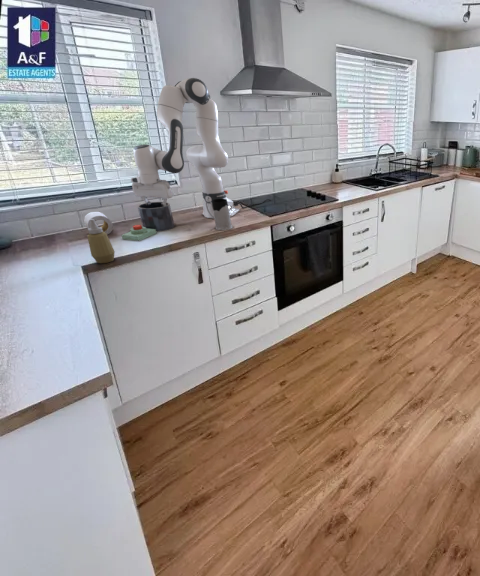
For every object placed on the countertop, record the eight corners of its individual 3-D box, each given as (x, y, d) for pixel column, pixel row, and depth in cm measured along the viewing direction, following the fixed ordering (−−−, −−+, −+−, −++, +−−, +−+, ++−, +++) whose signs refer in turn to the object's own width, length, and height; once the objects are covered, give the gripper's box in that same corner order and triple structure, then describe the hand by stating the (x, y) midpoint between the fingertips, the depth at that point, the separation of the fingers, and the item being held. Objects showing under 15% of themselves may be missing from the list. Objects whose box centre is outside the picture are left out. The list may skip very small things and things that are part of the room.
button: (137, 227, 185) (136, 224, 184) (144, 228, 184) (143, 225, 183) (132, 230, 182) (131, 226, 181) (138, 230, 181) (137, 227, 180)
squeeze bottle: (92, 266, 151) (77, 223, 143) (95, 259, 157) (81, 218, 149) (116, 263, 154) (102, 221, 146) (118, 256, 161) (105, 216, 153)
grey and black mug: (224, 231, 196) (219, 203, 189) (204, 227, 200) (198, 199, 194) (236, 226, 203) (231, 199, 196) (216, 223, 208) (211, 196, 201)
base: (141, 231, 190) (138, 224, 189) (156, 233, 189) (154, 225, 187) (122, 239, 180) (120, 231, 178) (138, 240, 179) (136, 232, 177)
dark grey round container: (156, 222, 205) (151, 200, 200) (180, 224, 203) (175, 202, 198) (136, 230, 192) (130, 207, 187) (162, 232, 190) (156, 209, 185)
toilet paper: (115, 233, 187) (109, 214, 182) (91, 237, 180) (84, 217, 176) (111, 228, 193) (105, 210, 188) (87, 232, 186) (80, 213, 182)
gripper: (172, 179, 189) (178, 205, 196) (136, 176, 192) (143, 202, 198) (163, 181, 184) (170, 208, 190) (127, 178, 187) (134, 205, 193)
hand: (156, 205), depth 194 cm, fingers open, 8 cm apart
